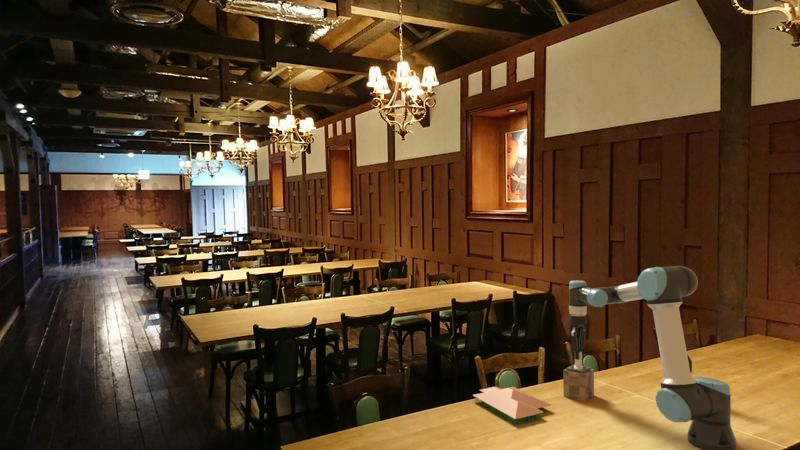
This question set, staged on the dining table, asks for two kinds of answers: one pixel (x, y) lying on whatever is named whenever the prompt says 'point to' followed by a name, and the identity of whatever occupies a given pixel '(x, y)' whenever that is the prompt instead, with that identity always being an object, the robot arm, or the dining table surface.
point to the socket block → (578, 383)
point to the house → (511, 402)
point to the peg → (578, 367)
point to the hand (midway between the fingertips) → (578, 365)
